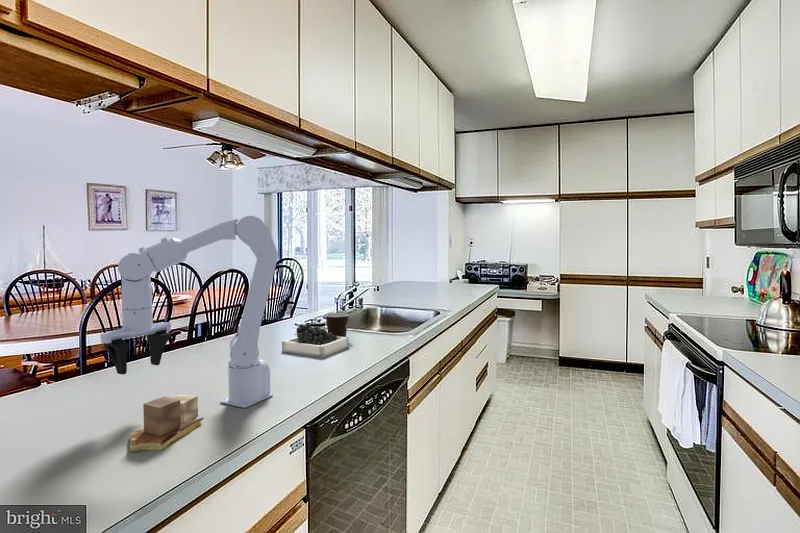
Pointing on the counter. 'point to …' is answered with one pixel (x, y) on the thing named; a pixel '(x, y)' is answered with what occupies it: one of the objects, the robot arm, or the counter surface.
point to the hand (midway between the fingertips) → (139, 369)
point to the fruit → (314, 335)
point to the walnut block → (162, 416)
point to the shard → (160, 437)
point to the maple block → (188, 406)
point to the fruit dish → (315, 347)
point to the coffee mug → (337, 324)
